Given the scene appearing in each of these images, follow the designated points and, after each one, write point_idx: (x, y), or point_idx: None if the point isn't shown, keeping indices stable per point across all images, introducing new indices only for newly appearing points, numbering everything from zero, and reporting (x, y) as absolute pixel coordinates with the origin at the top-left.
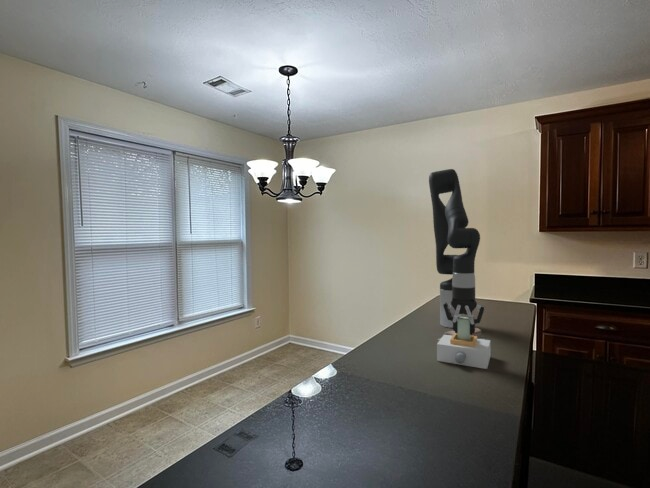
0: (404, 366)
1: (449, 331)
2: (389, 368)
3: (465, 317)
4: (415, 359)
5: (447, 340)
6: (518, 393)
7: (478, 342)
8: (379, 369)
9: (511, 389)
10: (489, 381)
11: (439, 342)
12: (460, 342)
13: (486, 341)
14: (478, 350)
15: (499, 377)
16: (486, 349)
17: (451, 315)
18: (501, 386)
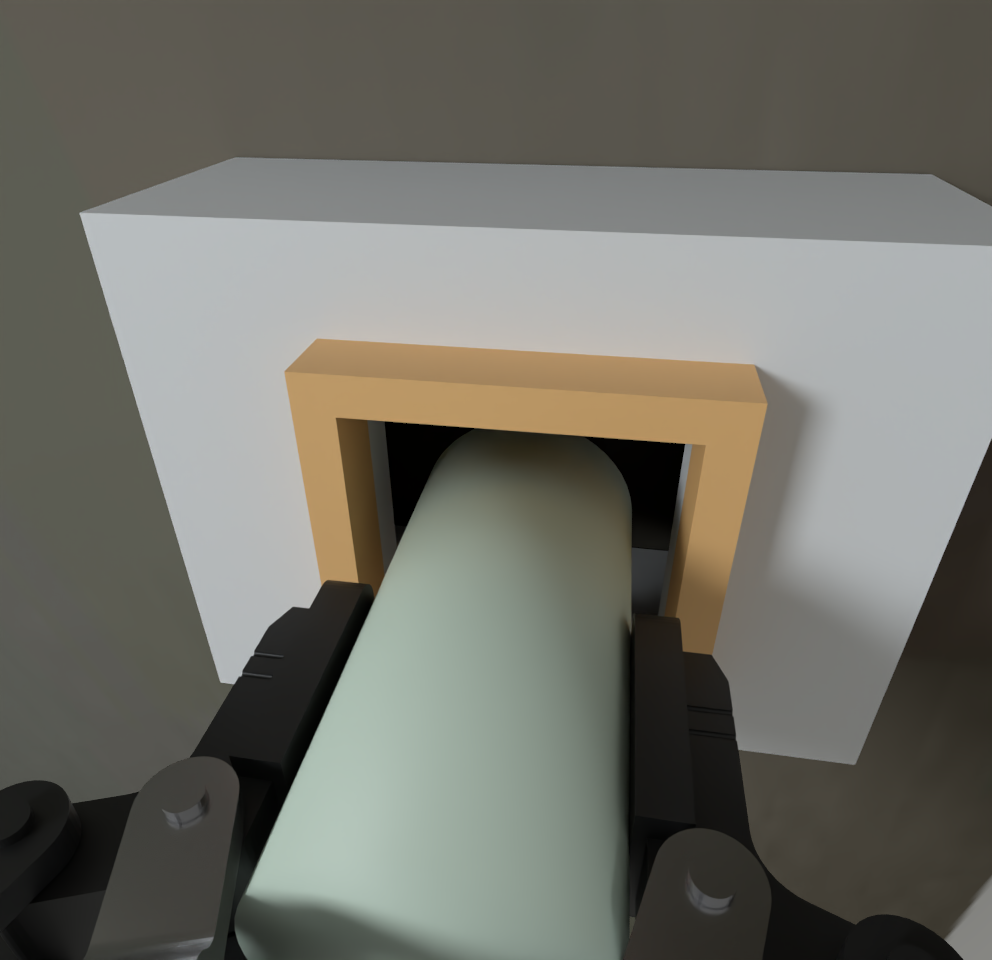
0: (144, 707)
1: None
2: (87, 752)
3: (443, 896)
4: (128, 568)
5: (277, 528)
6: (970, 892)
7: (768, 474)
8: (51, 774)
9: (936, 859)
10: (789, 792)
11: (221, 629)
12: None
13: (945, 369)
14: (740, 740)
15: (893, 723)
16: (857, 721)
17: (12, 904)
18: (870, 837)
